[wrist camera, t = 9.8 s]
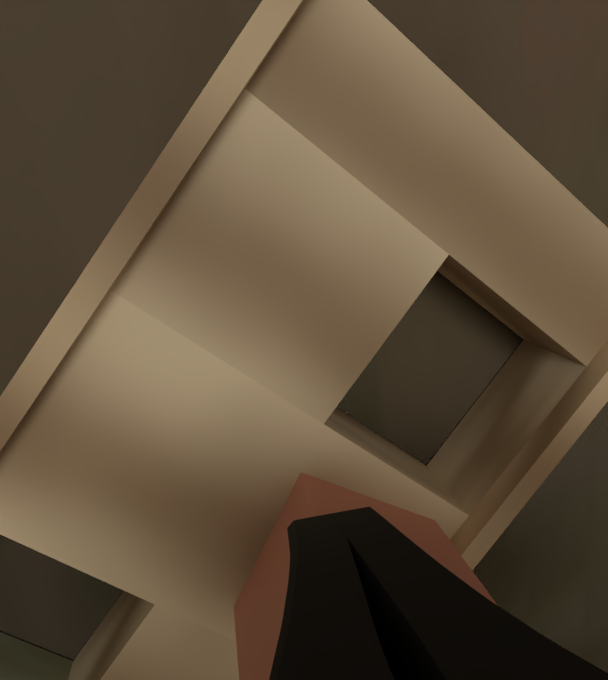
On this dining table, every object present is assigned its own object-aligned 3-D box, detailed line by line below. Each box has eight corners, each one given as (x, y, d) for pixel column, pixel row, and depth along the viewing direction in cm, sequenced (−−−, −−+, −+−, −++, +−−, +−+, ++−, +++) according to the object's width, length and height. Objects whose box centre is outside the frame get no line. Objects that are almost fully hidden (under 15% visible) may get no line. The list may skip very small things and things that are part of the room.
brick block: (300, 472, 14) (340, 582, 10) (435, 520, 15) (521, 637, 11) (233, 606, 14) (245, 762, 10) (367, 642, 15) (425, 796, 11)
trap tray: (284, -4, 14) (327, -114, 9) (594, 274, 17) (743, 301, 13) (-190, 707, 16) (-355, 921, 11) (169, 823, 20) (158, 1022, 15)
